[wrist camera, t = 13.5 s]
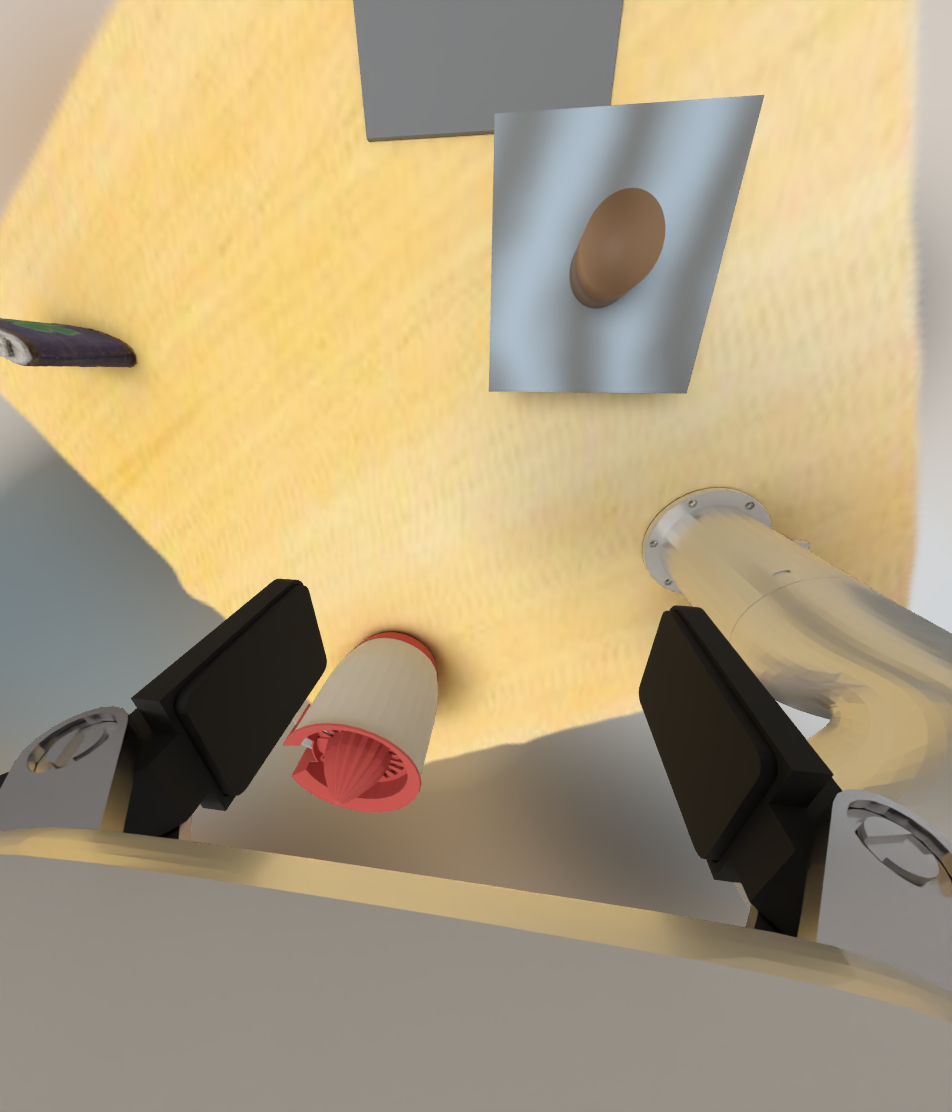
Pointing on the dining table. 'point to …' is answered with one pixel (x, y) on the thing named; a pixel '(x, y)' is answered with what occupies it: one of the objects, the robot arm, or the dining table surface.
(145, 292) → the dining table surface
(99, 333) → the flask
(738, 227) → the dining table surface
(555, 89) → the tray
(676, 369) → the lid
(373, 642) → the citrus juicer
